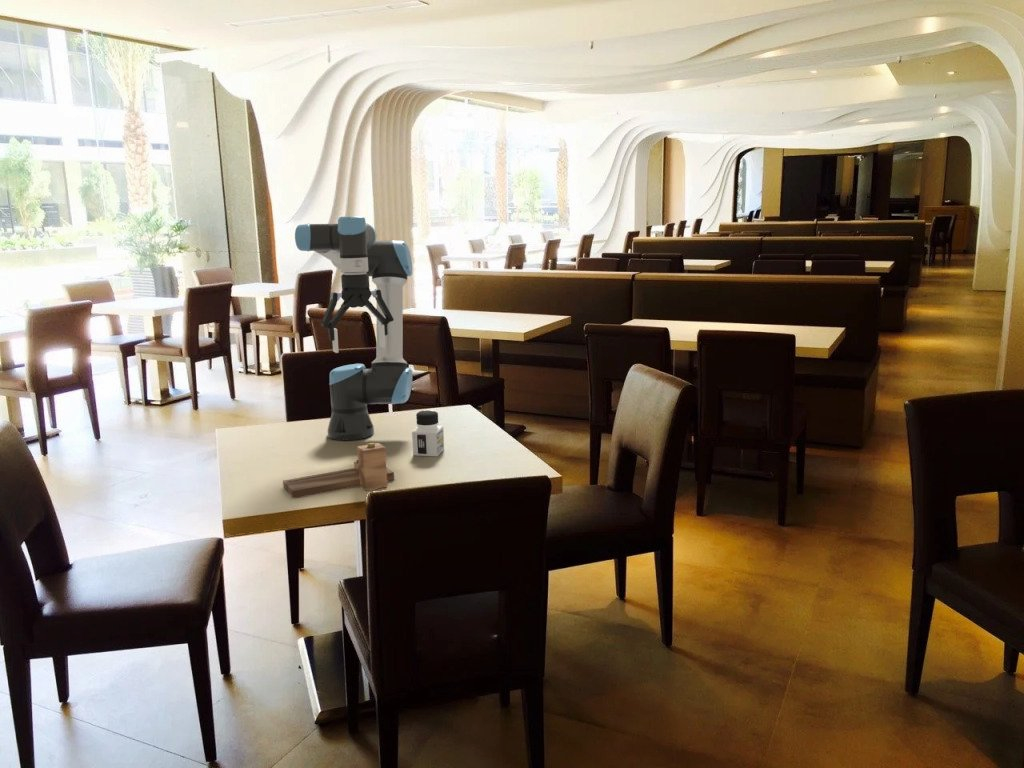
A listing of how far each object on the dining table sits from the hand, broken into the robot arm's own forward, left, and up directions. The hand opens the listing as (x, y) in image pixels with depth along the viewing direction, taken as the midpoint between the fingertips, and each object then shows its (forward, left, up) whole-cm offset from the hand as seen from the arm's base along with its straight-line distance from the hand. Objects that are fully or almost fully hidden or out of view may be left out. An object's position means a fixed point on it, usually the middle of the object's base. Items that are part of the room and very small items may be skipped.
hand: (359, 349), depth 230 cm
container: (-4, +22, -35) cm, 41 cm away
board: (+9, -11, -35) cm, 37 cm away
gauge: (+12, -4, -34) cm, 37 cm away
